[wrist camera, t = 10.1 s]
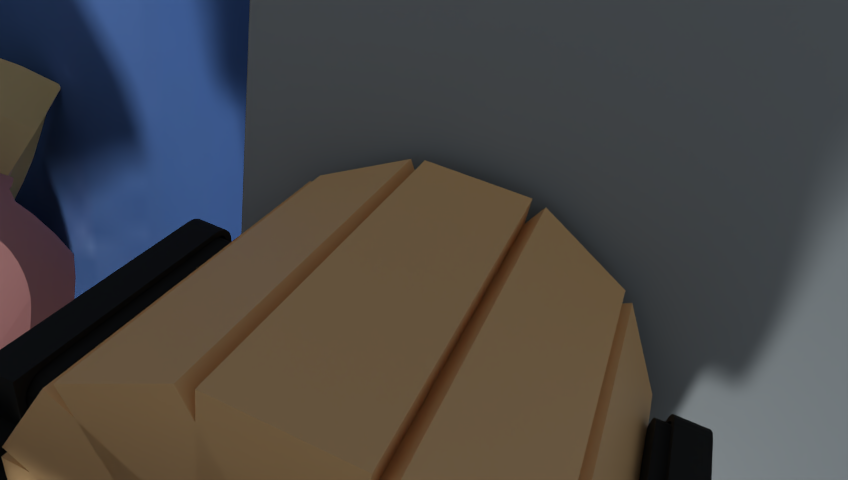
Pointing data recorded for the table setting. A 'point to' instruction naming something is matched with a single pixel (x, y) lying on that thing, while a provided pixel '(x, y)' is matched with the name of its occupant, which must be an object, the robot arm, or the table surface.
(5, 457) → the collar
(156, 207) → the table surface
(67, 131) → the table surface
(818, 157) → the board
